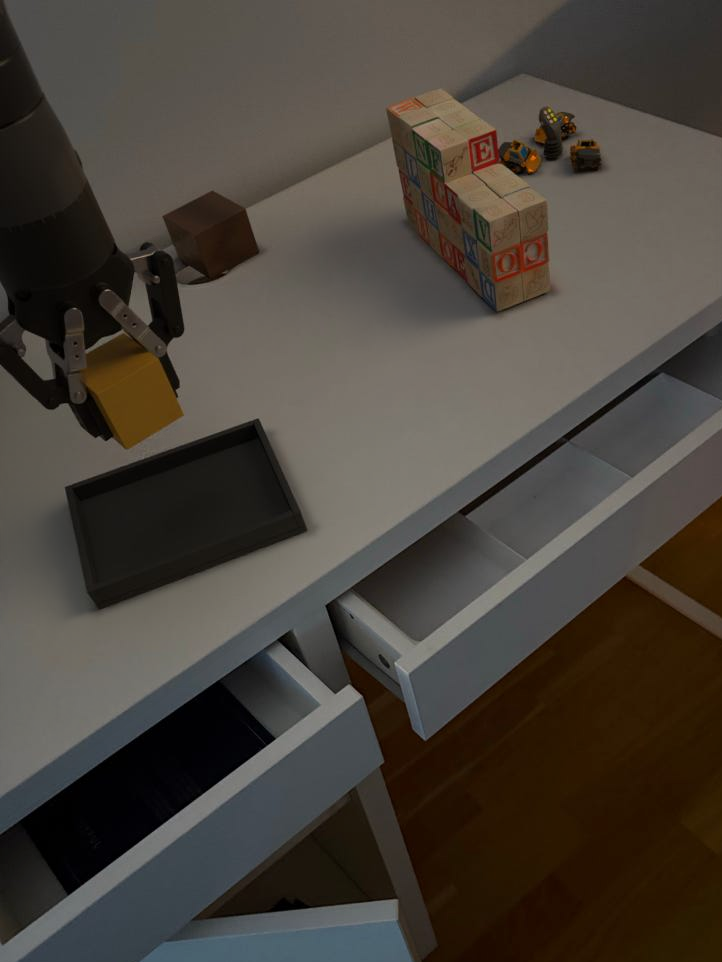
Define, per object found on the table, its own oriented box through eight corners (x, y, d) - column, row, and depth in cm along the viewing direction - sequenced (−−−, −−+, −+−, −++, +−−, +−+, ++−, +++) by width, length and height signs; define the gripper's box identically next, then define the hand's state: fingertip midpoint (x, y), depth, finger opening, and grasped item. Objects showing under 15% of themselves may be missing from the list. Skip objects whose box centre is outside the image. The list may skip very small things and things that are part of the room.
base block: (210, 279, 100) (194, 235, 96) (179, 259, 103) (161, 216, 99) (259, 252, 102) (245, 208, 98) (227, 233, 105) (212, 190, 101)
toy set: (557, 197, 102) (555, 152, 98) (486, 167, 108) (482, 124, 104) (631, 152, 106) (632, 108, 103) (559, 126, 112) (558, 83, 108)
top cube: (126, 450, 67) (96, 394, 63) (94, 422, 70) (62, 366, 66) (184, 415, 69) (158, 358, 65) (150, 388, 72) (123, 332, 68)
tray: (98, 609, 72) (86, 592, 71) (75, 504, 80) (64, 486, 79) (307, 530, 75) (300, 512, 73) (265, 436, 83) (258, 417, 81)
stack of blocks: (553, 292, 91) (546, 165, 82) (496, 314, 90) (483, 189, 80) (456, 203, 104) (440, 84, 94) (406, 222, 103) (384, 104, 93)
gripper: (96, 125, 60) (190, 349, 74) (-115, 222, 55) (28, 444, 69) (155, 157, 56) (243, 387, 70) (-65, 264, 51) (75, 490, 65)
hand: (136, 414), depth 69 cm, fingers closed on top cube, 5 cm apart
